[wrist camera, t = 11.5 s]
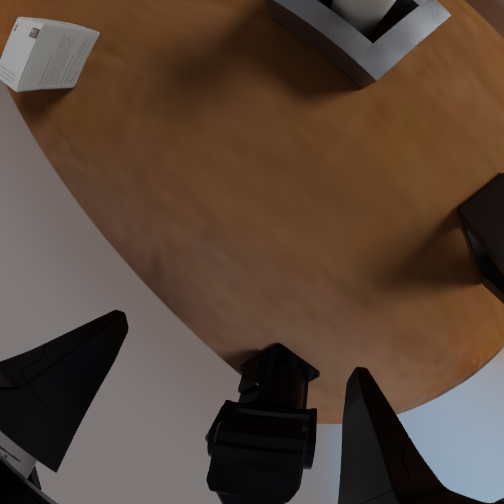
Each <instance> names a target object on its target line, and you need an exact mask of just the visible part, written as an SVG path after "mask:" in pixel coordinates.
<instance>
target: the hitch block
mask: <svg viewBox="0 0 504 504" xmlns="http://www.w3.org/2000/svg"><path fill="white" fill-rule="evenodd" d="M265 1H266V3H267V5H268V8H269V10H270V13H271V15H272V17H273V19H274V20H276V21H277V22H279V23H280V24H282V25H283V26H285V27H286V28H288V29H289V30H290V31H292V32H293V33H295V34H296V35H298V36H299V37H300V38H302V39H303V40H304V41H306V42H307V43H308V44H310V45H311V46H312V47H314V48H315V49H316V50H317V51H319V52H320V53H321V54H322V55H324V56H325V57H326V58H327V59H328V60H330V61H331V62H332V63H333V64H334V65H335V66H337V67H338V68H339V69H340V70H341V71H342V72H343V73H344V74H346V75H347V76H348V77H349V78H350V79H351V80H352V81H353V82H354V83H355V84H356V85H357V86H358V87H359V88H360V89H364V88H365V87H367V86H369V85H371V84H372V83H374V82H376V81H377V80H379V79H380V78H381V77H382V76H383V75H384V74H385V73H386V72H387V71H388V70H389V69H390V68H392V67H393V66H394V65H395V64H396V63H397V62H398V61H399V60H400V59H401V58H403V57H404V56H405V55H406V54H407V53H408V52H409V51H410V50H412V49H413V48H414V47H415V46H416V45H417V44H418V43H419V42H421V41H422V40H423V39H424V38H425V37H426V36H428V35H429V34H430V33H431V32H432V31H433V30H435V29H436V28H437V27H438V26H439V25H440V24H442V23H443V22H444V21H445V20H446V19H448V18H449V17H450V16H451V14H450V13H449V12H448V11H447V10H446V9H445V8H444V7H443V6H442V5H441V4H440V3H439V2H438V1H437V0H396V1H395V2H394V4H393V5H392V6H391V8H390V9H389V10H388V12H387V13H386V15H387V16H389V17H390V18H391V19H392V20H393V21H394V22H395V23H396V25H395V26H393V27H392V28H391V29H390V30H389V31H387V32H386V33H385V34H384V35H383V36H381V37H380V38H379V39H378V40H377V41H376V42H374V43H371V42H370V41H369V40H368V39H367V38H366V37H365V36H363V35H362V34H361V33H360V32H359V31H358V30H356V29H355V28H354V27H353V26H351V25H350V24H349V23H348V22H346V21H345V20H344V19H342V18H341V17H340V16H339V15H337V14H336V13H334V12H333V11H332V10H330V9H329V8H327V7H326V6H325V5H323V4H322V3H323V2H325V1H326V0H265Z"/></svg>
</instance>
